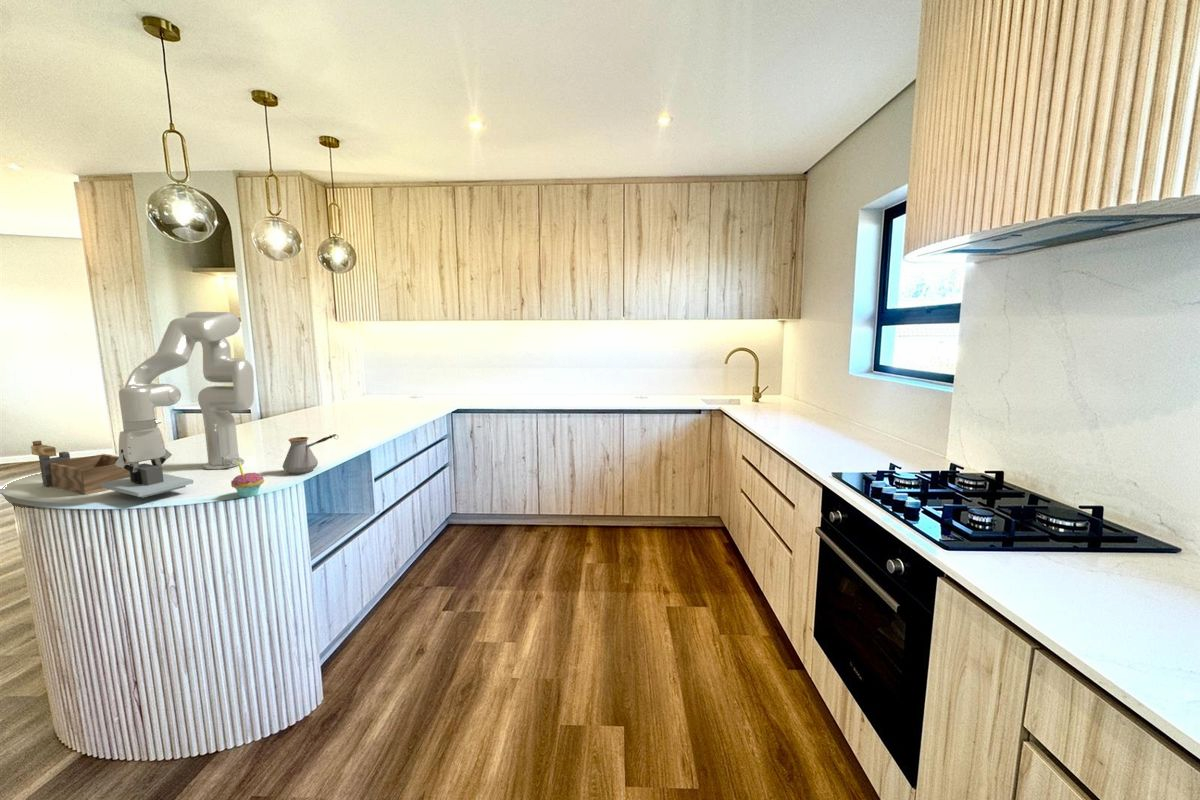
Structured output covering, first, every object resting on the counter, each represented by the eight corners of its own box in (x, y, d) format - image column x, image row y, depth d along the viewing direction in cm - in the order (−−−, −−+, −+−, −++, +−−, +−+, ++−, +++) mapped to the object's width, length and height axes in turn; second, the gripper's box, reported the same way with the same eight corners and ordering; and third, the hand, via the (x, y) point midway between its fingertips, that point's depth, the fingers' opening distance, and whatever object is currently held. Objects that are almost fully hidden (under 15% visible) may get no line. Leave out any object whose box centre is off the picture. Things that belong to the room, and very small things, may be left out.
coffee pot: (275, 475, 173) (271, 435, 171) (297, 466, 185) (294, 429, 183) (329, 477, 172) (326, 437, 170) (349, 468, 183) (346, 431, 181)
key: (56, 455, 162) (54, 442, 161) (45, 457, 160) (43, 444, 159) (42, 452, 166) (40, 440, 165) (32, 454, 164) (30, 441, 163)
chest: (141, 482, 164) (137, 453, 162) (80, 496, 150) (76, 463, 148) (103, 474, 173) (99, 446, 172) (43, 486, 159) (38, 455, 158)
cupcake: (239, 501, 147) (235, 463, 145) (227, 495, 151) (223, 459, 149) (269, 493, 154) (266, 457, 152) (258, 488, 158) (254, 454, 157)
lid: (193, 486, 154) (191, 465, 153) (139, 499, 141) (136, 476, 140) (155, 477, 162) (153, 457, 161) (100, 490, 149) (97, 468, 148)
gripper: (165, 420, 157) (171, 473, 160) (97, 429, 142) (106, 487, 145) (178, 422, 155) (184, 475, 157) (110, 431, 139) (119, 490, 142)
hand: (147, 480), depth 151 cm, fingers closed on lid, 4 cm apart
